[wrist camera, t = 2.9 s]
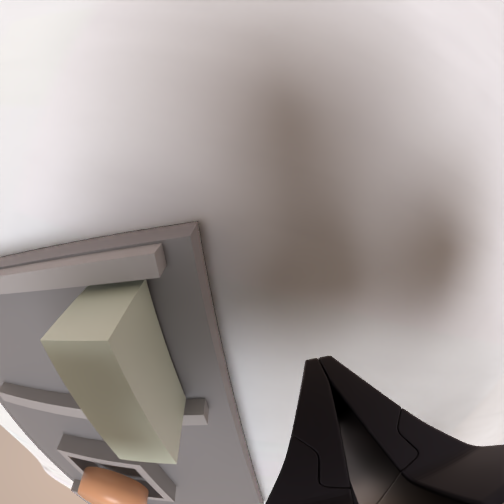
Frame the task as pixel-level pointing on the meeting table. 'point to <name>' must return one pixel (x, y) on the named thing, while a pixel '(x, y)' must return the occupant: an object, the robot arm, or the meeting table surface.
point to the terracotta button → (111, 488)
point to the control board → (178, 344)
